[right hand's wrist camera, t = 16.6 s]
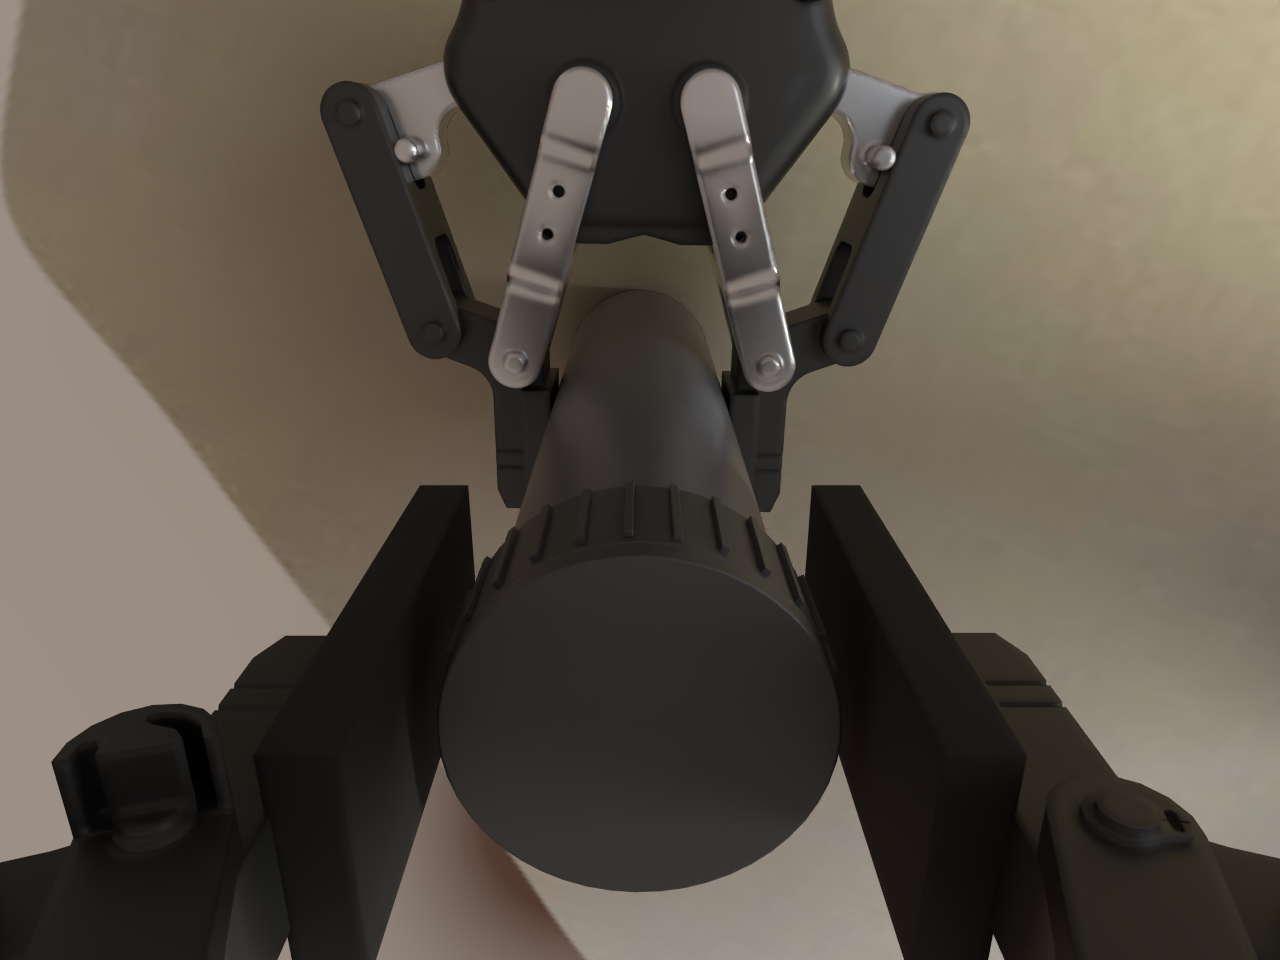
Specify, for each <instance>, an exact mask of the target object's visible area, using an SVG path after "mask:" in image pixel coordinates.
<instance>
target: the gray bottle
mask: <svg viewBox="0 0 1280 960" xmlns="http://www.w3.org/2000/svg"><path fill="white" fill-rule="evenodd" d="M626 482H634V486H643V485H644V486H656V487H668V488H669V487H670V484H671V485H677V486H678V489H679V490H682V491H687V492H692V493H695V494H698V495H700V496H703V497H706V498H709V499H711V498H712V496H715V497H717V498H720V501H721V504H723V505H725V506H727V507H729V508H731V509H733V510H735V511H736V512H738V513H739V514H741V515H742V516H744V517H745V518H747V519H748V518H749V517H750V516H752V517H754V518H755V519H756V520H757V522H758V526H759V528H760V529H761V530H762V531H763V532H764V533H766V530H765V527H764V524H763V521H762V518H761V514H760V511H759V508H758V505H757V502H756V499H755V495H754V492H753V489H752V486H751V483H750V479H749V476H748V473H747V470H746V467H745V463H744V460H743V457H742V454H741V451H740V448H739V444H738V441H737V438H736V435H735V432H734V428H733V425H732V422H731V419H730V416H729V412H728V409H727V406H726V403H725V400H724V396H723V393H722V390H721V387H720V384H719V381H718V377H717V374H716V371H715V368H714V365H713V361H712V358H711V355H710V352H709V349H708V345H707V342H706V339H705V336H704V334H703V331H702V329H701V327H700V325H699V323H698V321H697V320H696V319H695V317H694V316H693V315H692V313H691V312H690V311H689V310H688V309H687V308H686V307H684V306H683V305H682V304H681V303H679V302H678V301H676V300H674V299H673V298H671V297H669V296H666V295H664V294H661V293H657V292H653V291H646V290H634V291H626V292H623V293H619V294H616V295H614V296H611V297H609V298H607V299H606V300H604V301H602V302H601V303H599V304H598V305H597V306H595V307H594V308H593V309H592V310H591V311H590V312H589V313H588V314H587V316H586V317H585V318H584V320H583V321H582V323H581V325H580V327H579V328H578V331H577V333H576V336H575V339H574V342H573V345H572V348H571V351H570V354H569V358H568V361H567V364H566V367H565V370H564V373H563V377H562V380H561V383H560V386H559V389H558V392H557V395H556V399H555V402H554V405H553V408H552V411H551V414H550V418H549V421H548V424H547V427H546V430H545V433H544V437H543V440H542V443H541V446H540V449H539V452H538V455H537V459H536V462H535V465H534V468H533V471H532V474H531V478H530V481H529V484H528V487H527V490H526V493H525V497H524V500H523V503H522V506H521V509H520V512H519V515H518V519H517V522H516V525H515V528H516V529H517V530H518V529H519V528H520V527H521V526H523V525H524V524H525V523H526V522H528V521H529V520H530V519H531V518H533V517H535V516H536V515H538V514H540V513H541V509H542V507H543V506H545V505H546V504H550V506H554V505H556V504H558V503H560V502H563V501H565V500H567V499H570V498H572V497H575V496H578V495H581V493H582V490H584V489H588V488H590V490H591V492H592V491H595V490H601V489H607V488H613V487H619V486H625V483H626Z"/></svg>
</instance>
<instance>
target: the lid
mask: <svg viewBox="0 0 1280 960" xmlns="http://www.w3.org/2000/svg"><path fill="white" fill-rule="evenodd" d="M827 640H828V638H827V635H826V632H825V629H824V627H823V624H822V621H821V619H820V616H819V613H818V611H817V608H816V605H815V602H814V600H813V597H812V594H811V592H810V589H809V586H808V583H807V581H806V579H805V577H804V575H801V576H799V577H798V576H797V574H796V572H795V570H794V568H793V566H792V563H791V561H790V558H789V555H788V552H787V549H786V547H785V546H784V545H783V544H782V543H780V544H779V545H776V544H775V543H774V541H773V540H772V539H771V538H770V537H769V536H768V535H767V534H766V533H764V532H763V531H762V530H761V529H760V528H759V526H758V522H757V520H756V519H755V518H754V517H752V516H750V517H749V518H748V519H747V518H745V517H744V516H742V515H741V514H739V513H738V512H736V511H735V510H733V509H731V508H729V507H727V506H725V505H723V504H721V501H720V498H717V497H715V496H712V498H711V499H709V498H706V497H703V496H700V495H698V494H695V493H692V492H687V491H682V490H679V489H678V486H677V485H671V484H670V487H669V488H668V487H656V486H644V485H643V486H634V482H626V483H625V486H619V487H613V488H607V489H601V490H595V491H592V492H591V490H590V488H588V489H584V490H582V493H581V495H578V496H575V497H572V498H570V499H567V500H565V501H563V502H560V503H558V504H556V505H554V506H550V504H546V505H545V506H543V507H542V509H541V513H540V514H538V515H536V516H535V517H533V518H531V519H530V520H529V521H528V522H526V523H525V524H524V525H523V526H521V527H520V528H519V529H518V530H517V529H516V528H515V527H513V528H512V529H510V530H509V531H508V534H507V537H506V540H505V543H504V544H503V545H502V546H501V547H500V548H499V549H498V551H497V552H496V553H495V555H494V556H493V558H492V559H491V558H489V557H488V556H486V558H485V559H484V561H483V563H482V565H481V568H480V571H479V574H478V576H477V579H476V582H475V585H474V587H473V590H472V591H471V590H469V591H468V593H467V596H466V599H465V601H464V604H463V607H462V609H461V612H460V615H459V617H458V620H457V623H456V625H455V628H454V631H453V633H452V636H451V639H450V641H449V644H448V647H447V649H446V652H445V655H444V656H445V657H448V658H449V660H448V663H447V665H446V668H445V671H444V674H443V676H442V679H441V682H440V685H439V687H438V696H439V701H438V708H437V737H438V743H439V750H440V755H441V759H442V762H443V765H444V768H445V771H446V774H447V777H448V779H449V781H450V783H451V786H452V788H453V790H454V792H455V794H456V796H457V797H458V799H459V801H460V802H461V804H462V805H463V806H464V808H465V809H466V811H467V812H468V814H469V815H470V816H471V818H472V819H473V820H474V821H475V822H476V823H477V824H478V825H479V827H480V828H481V829H482V830H483V831H484V832H485V833H486V834H487V835H488V836H489V837H491V838H492V839H493V840H494V841H495V842H496V843H497V844H499V845H500V846H501V847H502V848H504V849H505V850H507V851H508V852H509V853H511V854H512V855H514V856H515V857H517V858H518V859H520V860H521V861H523V862H525V863H527V864H529V865H531V866H533V867H535V868H537V869H538V870H540V871H542V872H545V873H547V874H550V875H553V876H555V877H558V878H560V879H563V880H566V881H569V882H573V883H577V884H580V885H584V886H588V887H594V888H599V889H605V890H612V891H626V892H653V891H666V890H673V889H680V888H686V887H690V886H694V885H699V884H703V883H707V882H710V881H713V880H716V879H718V878H721V877H724V876H727V875H730V874H732V873H734V872H736V871H738V870H740V869H742V868H744V867H746V866H748V865H751V864H752V863H754V862H756V861H757V860H759V859H760V858H762V857H764V856H765V855H767V854H768V853H770V852H771V851H773V850H774V849H775V848H776V847H778V846H779V845H780V844H781V843H783V842H784V841H785V840H786V839H788V838H789V837H790V836H791V835H792V834H793V833H794V832H795V831H796V830H797V829H798V827H799V826H800V825H801V824H802V823H803V822H804V821H805V820H806V819H807V817H808V816H809V815H810V813H811V812H812V811H813V809H814V808H815V807H816V805H817V804H818V802H819V800H820V799H821V797H822V795H823V793H824V791H825V789H826V788H827V786H828V784H829V781H830V779H831V776H832V773H833V771H834V768H835V765H836V762H837V758H838V753H839V748H840V743H841V733H842V712H841V703H840V695H839V691H838V688H837V684H836V681H835V679H839V678H840V677H839V671H838V669H837V666H836V663H835V661H834V658H833V655H832V652H831V650H830V647H829V644H828V641H827Z"/></svg>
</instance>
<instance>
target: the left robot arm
mask: <svg viewBox="0 0 1280 960" xmlns="http://www.w3.org/2000/svg"><path fill="white" fill-rule="evenodd" d="M460 109H461V111H462V112H463V113H464V115H465V116H466V118H467V119H468V120H469V122H470V123H471V125H472V126H473V127H474V129H475V130H476V132H477V133H478V134H479V136H480V137H481V139H482V140H483V141H484V143H485V144H486V145H487V147H488V148H489V150H490V151H491V152H492V154H493V155H494V157H495V158H496V159H497V161H498V162H499V164H500V165H501V166H502V168H503V169H504V171H505V172H506V173H507V175H508V176H509V178H510V179H511V180H512V182H513V183H514V185H515V186H516V187H517V189H518V190H519V192H520V193H521V194H522V196H523V197H524V198H525V200H526V202H525V206H524V210H523V214H522V218H521V222H520V226H519V230H518V234H517V238H516V242H515V246H514V250H513V254H512V258H511V262H510V266H509V270H508V276H507V286H506V290H505V294H504V298H503V302H502V306H501V309H499V308H496V307H493V306H491V305H488V304H485V303H483V302H480V301H477V300H475V298H474V295H473V292H472V289H471V287H470V284H469V281H468V278H467V275H466V273H465V270H464V267H463V264H462V262H461V259H460V256H459V253H458V251H457V248H456V245H455V242H454V240H453V237H452V234H451V231H450V229H449V226H448V223H447V220H446V217H445V215H444V212H443V209H442V206H441V204H440V201H439V198H438V195H437V193H436V190H435V187H434V184H433V182H432V179H431V176H434V175H436V174H438V173H439V172H440V171H441V170H442V169H443V168H444V167H445V165H446V163H447V160H448V156H449V147H448V142H447V127H448V123H449V121H450V119H451V118H452V116H453V115H454V114H455V113H456V112H457V111H459V110H460ZM320 112H321V118H322V121H323V124H324V126H325V129H326V131H327V134H328V136H329V139H330V141H331V144H332V146H333V149H334V151H335V154H336V156H337V159H338V162H339V164H340V167H341V169H342V172H343V174H344V177H345V179H346V182H347V184H348V187H349V189H350V192H351V194H352V197H353V200H354V202H355V205H356V207H357V210H358V212H359V215H360V217H361V220H362V222H363V225H364V227H365V230H366V232H367V235H368V237H369V240H370V243H371V245H372V248H373V250H374V253H375V255H376V258H377V260H378V263H379V265H380V268H381V270H382V273H383V275H384V278H385V281H386V283H387V286H388V288H389V291H390V293H391V296H392V298H393V301H394V303H395V306H396V308H397V311H398V313H399V316H400V318H401V321H402V324H403V326H404V329H405V331H406V334H407V336H408V339H409V341H410V343H411V345H412V346H413V348H414V349H415V350H416V351H417V352H418V353H420V354H421V355H423V356H425V357H427V358H431V359H441V358H445V357H446V358H449V359H452V360H454V361H457V362H460V363H463V364H465V365H468V366H471V367H473V368H475V369H476V370H478V371H479V372H481V373H482V374H483V375H484V376H485V377H486V378H487V380H488V381H489V383H490V385H491V387H492V391H493V396H494V416H495V438H496V460H497V482H498V490H499V493H500V495H501V497H502V499H503V501H504V503H505V505H506V507H507V508H521V506H522V503H523V500H524V497H525V493H526V490H527V487H528V484H529V481H530V478H531V474H532V471H533V468H534V465H535V462H536V459H537V455H538V452H539V449H540V446H541V443H542V440H543V437H544V433H545V430H546V427H547V424H548V421H549V418H550V414H551V411H552V408H553V405H554V402H555V399H556V395H557V392H558V389H559V368H550V351H549V349H550V346H551V343H552V339H553V335H554V332H555V328H556V325H557V321H558V317H559V314H560V310H561V307H562V303H563V299H564V296H565V292H566V289H567V285H568V282H569V278H570V275H571V272H572V269H573V265H574V262H575V258H576V255H577V251H578V248H579V244H580V243H588V244H609V243H613V242H617V241H621V240H624V239H628V238H632V237H636V236H640V235H648V236H651V237H655V238H658V239H662V240H665V241H669V242H672V243H675V244H679V245H707V247H708V251H709V255H710V260H711V264H712V267H713V271H714V275H715V278H716V282H717V285H718V289H719V293H720V297H721V301H722V305H723V309H724V314H725V318H726V322H727V326H728V330H729V334H730V338H731V342H732V360H731V371H722V385H721V390H722V393H723V396H724V400H725V403H726V406H727V409H728V412H729V416H730V419H731V422H732V425H733V428H734V432H735V435H736V438H737V441H738V444H739V448H740V451H741V454H742V457H743V460H744V463H745V467H746V470H747V473H748V476H749V479H750V483H751V486H752V489H753V492H754V495H755V499H756V502H757V505H758V508H759V511H760V512H770V511H771V509H772V507H773V505H774V503H775V501H776V499H777V498H778V496H779V494H780V481H781V468H782V454H783V442H784V428H785V415H786V402H787V397H788V394H789V391H790V389H791V387H792V386H793V385H794V383H795V382H796V381H797V380H798V379H799V378H801V377H802V376H804V375H805V374H807V373H810V372H812V371H815V370H818V369H821V368H824V367H827V366H830V365H833V364H838V365H841V366H855V365H858V364H860V363H862V362H864V361H865V360H866V359H867V358H868V357H870V355H871V354H872V352H873V351H874V349H875V346H876V344H877V342H878V340H879V337H880V335H881V333H882V330H883V328H884V326H885V323H886V321H887V319H888V316H889V314H890V312H891V309H892V307H893V305H894V302H895V300H896V298H897V295H898V293H899V291H900V288H901V286H902V284H903V282H904V279H905V277H906V275H907V272H908V270H909V268H910V265H911V263H912V261H913V258H914V256H915V254H916V251H917V249H918V247H919V244H920V242H921V240H922V237H923V235H924V233H925V231H926V228H927V226H928V224H929V221H930V219H931V217H932V214H933V212H934V210H935V207H936V205H937V203H938V200H939V198H940V196H941V193H942V191H943V189H944V186H945V184H946V182H947V179H948V177H949V175H950V173H951V170H952V168H953V166H954V163H955V161H956V159H957V156H958V154H959V152H960V149H961V147H962V145H963V142H964V140H965V138H966V135H967V133H968V130H969V126H970V114H969V110H968V108H967V106H966V104H965V103H964V101H963V100H962V99H961V98H960V97H958V96H956V95H954V94H952V93H937V92H930V93H923V94H920V93H916V92H914V91H911V90H908V89H906V88H903V87H900V86H898V85H895V84H892V83H890V82H887V81H884V80H882V79H879V78H876V77H873V76H871V75H868V74H865V73H863V72H860V71H857V70H855V69H852V68H850V62H849V55H848V50H847V47H846V44H845V42H844V39H843V37H842V35H841V33H840V30H839V28H838V25H837V22H836V18H835V14H834V9H833V3H832V0H462V3H461V8H460V11H459V14H458V17H457V20H456V23H455V25H454V27H453V29H452V31H451V33H450V35H449V37H448V40H447V43H446V46H445V51H444V59H443V61H442V62H439V63H436V64H433V65H430V66H427V67H424V68H421V69H418V70H415V71H412V72H409V73H406V74H403V75H400V76H397V77H394V78H391V79H388V80H385V81H382V82H379V83H376V84H373V85H369V84H363V83H357V82H351V81H342V82H338V83H335V84H334V85H332V86H331V87H329V88H328V89H327V91H326V92H325V93H324V95H323V97H322V100H321V106H320ZM830 116H833V117H834V118H835V119H836V120H837V121H838V123H839V124H840V126H841V128H842V131H843V137H844V143H843V148H842V152H841V165H842V168H843V171H844V173H845V174H846V176H847V177H848V178H849V179H851V180H852V181H854V182H856V183H858V184H857V187H856V189H855V192H854V194H853V197H852V199H851V202H850V204H849V207H848V209H847V212H846V214H845V217H844V219H843V222H842V224H841V227H840V229H839V232H838V234H837V237H836V239H835V242H834V244H833V247H832V249H831V252H830V254H829V257H828V260H827V262H826V265H825V267H824V270H823V272H822V275H821V277H820V280H819V282H818V285H817V287H816V290H815V292H814V295H813V297H812V300H811V302H810V305H807V306H804V307H801V308H798V309H795V310H792V311H789V312H786V313H785V311H784V306H783V302H782V297H781V293H780V280H779V273H778V268H777V263H776V258H775V254H774V249H773V245H772V240H771V235H770V231H769V226H768V222H767V217H766V213H765V208H764V202H765V201H766V200H767V198H768V197H769V196H770V194H771V193H772V192H773V191H774V189H775V188H776V187H777V185H778V184H779V183H780V181H781V180H782V179H783V177H784V176H785V175H786V174H787V172H788V171H789V170H790V168H791V167H792V166H793V164H794V163H795V162H796V160H797V159H798V158H799V157H800V155H801V154H802V153H803V151H804V150H805V149H806V147H807V146H808V145H809V143H810V142H811V141H812V140H813V138H814V137H815V136H816V134H817V133H818V132H819V130H820V129H821V128H822V126H823V125H824V124H825V123H826V121H827V120H828V119H829V117H830Z"/></svg>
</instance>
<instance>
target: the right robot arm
mask: <svg viewBox="0 0 1280 960" xmlns="http://www.w3.org/2000/svg"><path fill="white" fill-rule="evenodd" d="M805 579H806V581H807V583H808V586H809V589H810V592H811V594H812V597H813V600H814V602H815V605H816V608H817V611H818V613H819V616H820V619H821V621H822V624H823V627H824V629H825V632H826V635H827V638H828V640H827V641H828V644H829V647H830V650H831V652H832V655H833V658H834V661H835V663H836V666H837V669H838V671H839V677H840V678H839V679H835V681H836V684H837V688H838V691H839V695H840V703H841V712H842V733H841V743H840V748H839V753H838V754H839V757H840V760H841V763H842V766H843V770H844V773H845V776H846V779H847V782H848V785H849V788H850V792H851V795H852V798H853V801H854V804H855V807H856V810H857V813H858V817H859V820H860V823H861V826H862V829H863V832H864V835H865V839H866V842H867V845H868V848H869V851H870V854H871V857H872V861H873V864H874V867H875V870H876V873H877V876H878V879H879V882H880V886H881V889H882V892H883V895H884V898H885V901H886V904H887V908H888V911H889V914H890V917H891V920H892V923H893V926H894V930H895V933H896V936H897V939H898V942H899V945H900V948H901V951H902V955H903V958H904V960H988V958H989V953H990V947H991V942H992V937H993V934H994V937H995V939H996V941H997V944H998V946H999V948H1000V950H1001V953H1002V955H1003V957H1004V959H1005V960H1280V859H1279V858H1274V857H1270V856H1265V855H1261V854H1256V853H1252V852H1247V851H1243V850H1238V849H1234V848H1230V847H1226V846H1223V845H1219V844H1216V843H1212V842H1209V841H1208V839H1207V836H1206V835H1205V834H1204V832H1203V831H1202V829H1201V828H1200V826H1199V825H1198V824H1197V822H1196V821H1195V819H1194V818H1193V816H1191V815H1190V814H1189V813H1188V812H1186V811H1185V810H1184V809H1183V808H1181V807H1180V806H1179V805H1178V804H1176V803H1175V802H1174V801H1173V800H1171V799H1170V798H1169V797H1166V796H1164V795H1162V794H1160V793H1158V792H1156V791H1154V790H1152V789H1150V788H1148V787H1146V786H1144V785H1142V784H1140V783H1136V782H1133V781H1129V780H1125V779H1122V778H1118V777H1117V776H1116V774H1115V773H1114V772H1113V770H1112V769H1111V767H1110V766H1109V765H1108V763H1107V762H1106V761H1105V759H1104V758H1103V757H1102V755H1101V754H1100V753H1099V751H1098V750H1097V749H1096V747H1095V746H1094V744H1093V743H1092V742H1091V740H1090V739H1089V738H1088V736H1087V735H1086V734H1085V732H1084V731H1083V730H1082V728H1081V727H1080V726H1079V724H1078V723H1077V722H1076V720H1075V719H1074V717H1073V716H1072V715H1071V713H1070V712H1069V711H1068V709H1067V708H1066V707H1062V701H1061V700H1060V699H1059V697H1058V696H1057V694H1056V693H1055V692H1054V690H1053V689H1052V688H1051V686H1047V685H1046V680H1045V678H1044V677H1043V676H1042V674H1041V673H1040V672H1039V670H1038V669H1037V667H1036V666H1035V665H1034V663H1033V662H1032V661H1031V659H1030V658H1029V657H1028V655H1027V654H1025V653H1024V652H1022V651H1021V650H1019V649H1018V648H1016V647H1015V646H1013V645H1012V644H1010V643H1009V642H1007V641H1006V640H1004V639H1003V638H1002V637H1000V636H999V635H997V634H996V633H951V631H950V630H949V628H948V627H947V625H946V623H945V622H944V620H943V618H942V617H941V615H940V614H939V612H938V610H937V609H936V607H935V606H934V604H933V602H932V601H931V599H930V598H929V596H928V594H927V593H926V591H925V589H924V588H923V586H922V585H921V583H920V581H919V580H918V578H917V577H916V575H915V573H914V572H913V570H912V569H911V567H910V565H909V564H908V562H907V561H906V559H905V557H904V556H903V554H902V552H901V551H900V549H899V548H898V546H897V544H896V543H895V541H894V540H893V538H892V536H891V535H890V533H889V532H888V530H887V528H886V527H885V525H884V523H883V522H882V520H881V519H880V517H879V515H878V514H877V512H876V511H875V509H874V507H873V506H872V504H871V503H870V501H869V499H868V498H867V496H866V495H865V493H864V491H863V490H862V488H861V486H860V485H812V491H811V504H810V518H809V531H808V544H807V558H806V571H805ZM474 585H475V571H474V558H473V544H472V531H471V518H470V504H469V491H468V485H420V486H419V488H418V490H417V491H416V493H415V495H414V496H413V498H412V499H411V501H410V503H409V504H408V506H407V507H406V509H405V511H404V512H403V514H402V515H401V517H400V519H399V520H398V522H397V524H396V525H395V527H394V528H393V530H392V532H391V533H390V535H389V536H388V538H387V540H386V541H385V543H384V544H383V546H382V548H381V549H380V551H379V552H378V554H377V556H376V557H375V559H374V561H373V562H372V564H371V565H370V567H369V569H368V570H367V572H366V573H365V575H364V577H363V578H362V580H361V581H360V583H359V585H358V586H357V588H356V589H355V591H354V593H353V594H352V596H351V598H350V599H349V601H348V602H347V604H346V606H345V607H344V609H343V610H342V612H341V614H340V615H339V617H338V618H337V620H336V622H335V623H334V625H333V627H332V628H331V630H330V631H329V633H328V635H327V636H285V637H283V638H282V639H280V640H279V641H277V642H276V643H274V644H273V645H271V646H270V647H268V648H267V649H266V650H264V651H263V652H261V653H260V654H258V655H257V656H255V657H254V658H253V659H252V660H251V662H250V663H249V664H248V666H247V667H246V669H245V670H244V671H243V673H242V674H241V675H240V677H239V678H238V679H237V681H236V682H235V684H234V689H230V690H229V692H228V693H227V694H226V696H225V697H224V698H223V700H222V701H221V702H220V704H219V709H218V710H215V711H214V712H213V713H212V715H210V714H209V713H208V712H207V711H205V710H204V709H202V708H197V707H193V706H189V705H184V704H166V705H151V706H147V707H143V708H139V709H135V710H131V711H126V712H122V713H120V714H117V715H115V716H113V717H111V718H108V719H106V720H104V721H102V722H99V723H97V724H94V725H92V726H91V727H89V728H88V729H86V730H85V731H83V732H82V733H80V734H79V735H77V736H76V737H75V738H73V739H72V740H70V741H69V742H67V743H66V745H65V746H64V747H63V748H62V750H61V751H60V752H59V753H58V754H57V756H56V757H55V758H54V759H53V761H52V762H51V763H52V766H53V770H54V773H55V776H56V780H57V783H58V787H59V790H60V794H61V797H62V800H63V804H64V807H65V811H66V814H67V818H68V821H69V824H70V828H71V831H72V835H73V840H72V843H71V845H70V846H67V847H64V848H61V849H57V850H54V851H50V852H46V853H41V854H37V855H32V856H28V857H23V858H19V859H14V860H10V861H5V862H1V863H0V960H277V959H278V957H279V955H280V953H281V950H282V948H283V946H284V943H285V941H286V939H287V937H288V942H289V947H290V952H291V958H292V960H376V958H377V955H378V951H379V948H380V945H381V942H382V939H383V936H384V933H385V929H386V926H387V923H388V920H389V917H390V914H391V911H392V907H393V904H394V901H395V898H396V895H397V892H398V889H399V886H400V882H401V879H402V876H403V873H404V870H405V867H406V864H407V861H408V857H409V854H410V851H411V848H412V845H413V842H414V839H415V835H416V832H417V829H418V826H419V823H420V820H421V817H422V814H423V810H424V807H425V804H426V801H427V798H428V795H429V792H430V788H431V785H432V782H433V779H434V776H435V773H436V770H437V766H438V763H439V760H440V757H441V755H440V750H439V743H438V737H437V708H438V701H439V696H438V687H439V685H440V682H441V679H442V676H443V674H444V671H445V668H446V665H447V663H448V660H449V658H448V657H445V656H444V655H445V652H446V649H447V647H448V644H449V641H450V639H451V636H452V633H453V631H454V628H455V625H456V623H457V620H458V617H459V615H460V612H461V609H462V607H463V604H464V601H465V599H466V596H467V593H468V591H469V590H471V591H472V590H473V587H474Z"/></svg>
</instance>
